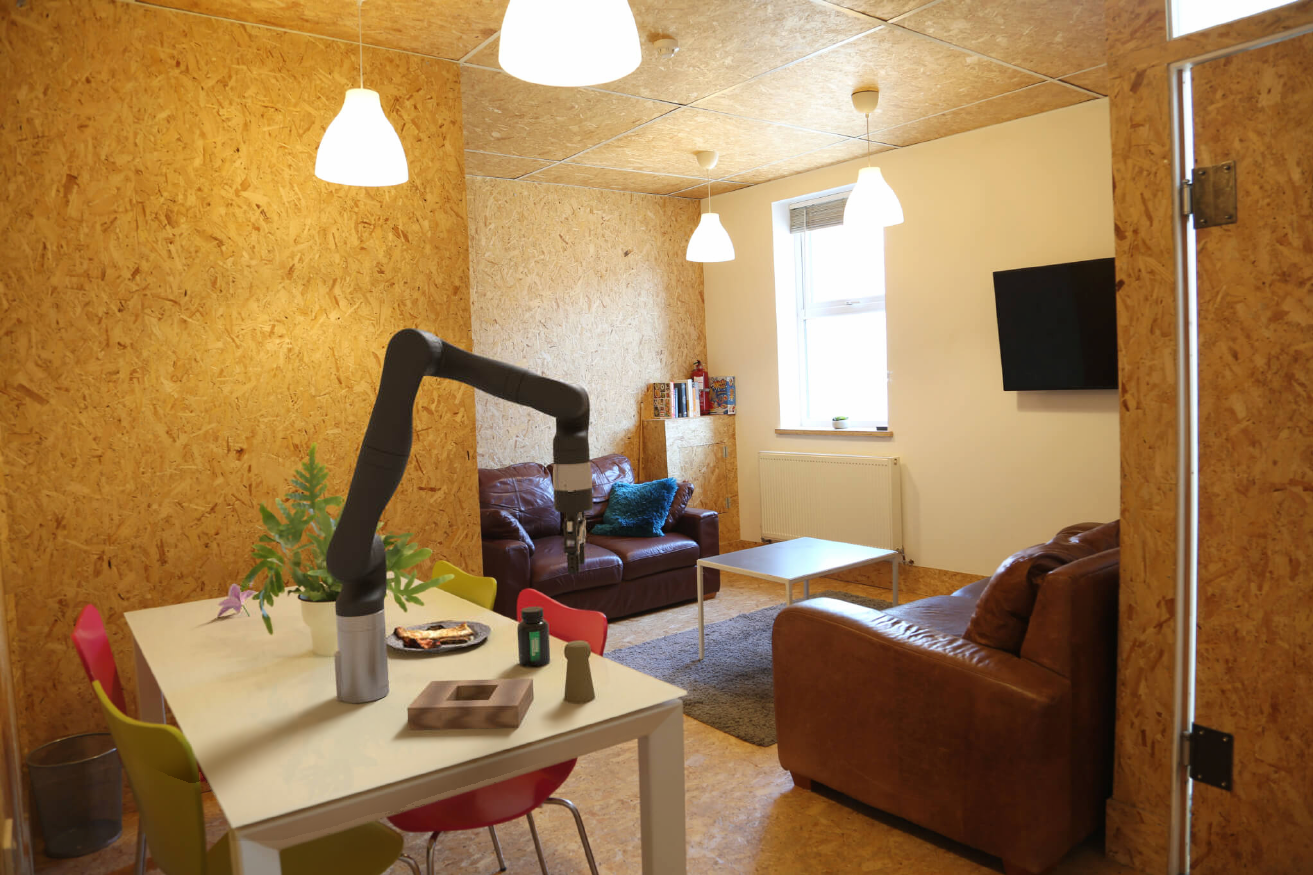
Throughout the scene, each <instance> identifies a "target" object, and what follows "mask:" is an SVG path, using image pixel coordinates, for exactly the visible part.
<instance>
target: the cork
mask: <svg viewBox="0 0 1313 875" xmlns="http://www.w3.org/2000/svg"><path fill="white" fill-rule="evenodd" d="M591 650H592V649H591V645H590V644H589V642H587V641H585V640H572V641H568V643H566V644H565V646H564V650H563V653H564V654H563V655H564V657H565V659H566V661H567V662H566V672H565V684H564V685H565V687H564V696H563V700H564V701H565V702H567V703H568V704H569V703H570V704H587V703H589V702H592V701H593V700H594V699H595V698H596V694H595V689H594V683H593V677H592V672H591V667H590V660H589V658H590V656H591V653H592V651H591Z"/></svg>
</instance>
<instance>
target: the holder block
mask: <svg viewBox="0 0 1313 875" xmlns="http://www.w3.org/2000/svg"><path fill="white" fill-rule="evenodd" d="M534 696H535V694H534V679H533V678H507V679H506V678H501V679H495V678H494V679H461V680H459V679H458V680H452V679H451V680H431V681H430V682H429V683H428V684H427V685H426V687H425V688H424V689H423V690H422V691H420V693H419V694H418V695H417V696H416V698H414V700H413V701H412V702H411V703H410V704H409V705H408V707H407V726H408V727H407V728H408V730H411V731H413V730H414V731H415V730H450V729H451V730H453V729H456V730H457V729H458V730H460V729H495V728H496V729H498V728H499V729H500V728H501V729H503V728H506V729H507V728H519V727H520V726H521V724H522V722H523V720H524V719H525V717H526V715H527V713H528V711H529V708H530V707H531V705H532V704H533V701H534V699H535V697H534Z"/></svg>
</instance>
